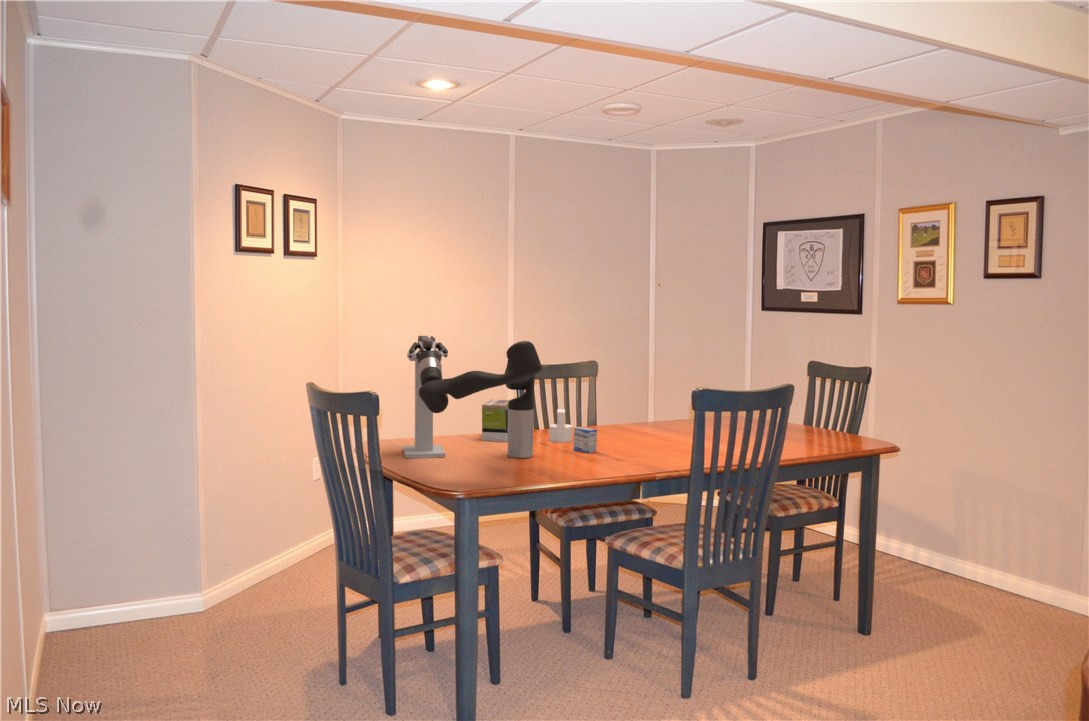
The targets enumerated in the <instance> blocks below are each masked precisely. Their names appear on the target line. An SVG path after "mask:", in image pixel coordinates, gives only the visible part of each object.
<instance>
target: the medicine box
mask: <svg viewBox="0 0 1089 721" xmlns="http://www.w3.org/2000/svg"><path fill="white" fill-rule="evenodd" d="M597 444H598V429H595V428H590V427H589V428H588V427H584V426H583V427H582V426H577V427H574V428H573V451H574V452H578V451H580V452H579V453H584V452H586V454H592V452H594V453H596V452H597V448H598V447H597Z"/></svg>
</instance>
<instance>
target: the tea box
mask: <svg viewBox="0 0 1089 721" xmlns="http://www.w3.org/2000/svg"><path fill="white" fill-rule="evenodd" d="M510 400H511V399H508V400H507V399H491V400H489V401H487V402H485V403H484V404H482V405H481V426H482V427H481V433H482V434H481V437H482V438H481V440H482V441H483V442H495V441H498V442H499V443H505V442H508V402H509V401H510Z"/></svg>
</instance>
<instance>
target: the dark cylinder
mask: <svg viewBox="0 0 1089 721" xmlns="http://www.w3.org/2000/svg"><path fill="white" fill-rule="evenodd" d="M420 336H422V343H423V348H433V340H432V339H431V337H429V336H428V335H418V337H420ZM418 337H417V338H418Z"/></svg>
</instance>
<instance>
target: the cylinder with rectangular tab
mask: <svg viewBox="0 0 1089 721" xmlns="http://www.w3.org/2000/svg"><path fill="white" fill-rule="evenodd" d="M556 410H557V413H556V414H557V417H556V420H557V422H556V423H554V424H553V423H552V424H550V425H549V435H548V436H549V437H548V438H549V442H551V443H559V444H563V443H564V444H567V443H571V442H572V441H573V425H571V424H567V423H566V409H564V408H557V409H556Z"/></svg>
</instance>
